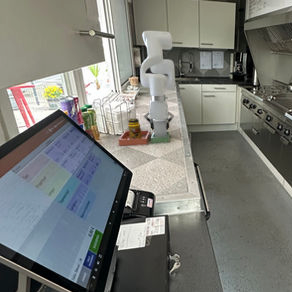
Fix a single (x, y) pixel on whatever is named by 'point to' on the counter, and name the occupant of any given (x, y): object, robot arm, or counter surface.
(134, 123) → the condiment
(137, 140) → the terracotta bin
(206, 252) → the counter surface
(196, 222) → the counter surface
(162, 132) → the grey rectangular block
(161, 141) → the green bin
